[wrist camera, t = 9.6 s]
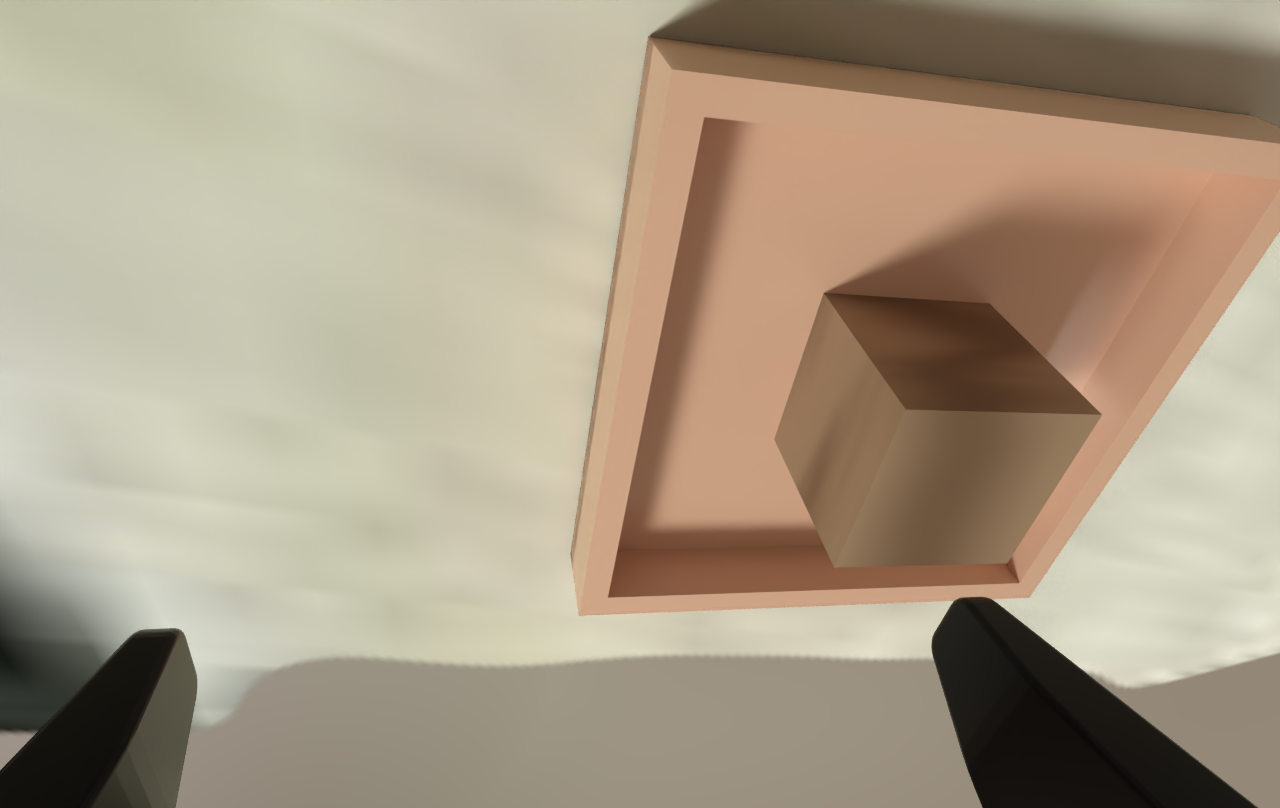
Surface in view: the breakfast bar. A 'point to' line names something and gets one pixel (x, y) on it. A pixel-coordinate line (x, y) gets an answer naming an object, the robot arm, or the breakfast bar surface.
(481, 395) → the breakfast bar surface
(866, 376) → the walnut cube
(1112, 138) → the terracotta dish
